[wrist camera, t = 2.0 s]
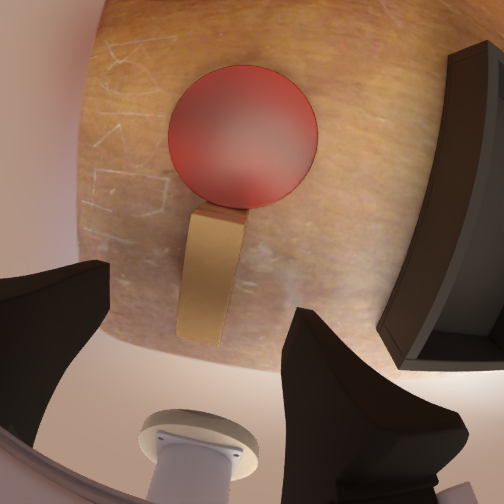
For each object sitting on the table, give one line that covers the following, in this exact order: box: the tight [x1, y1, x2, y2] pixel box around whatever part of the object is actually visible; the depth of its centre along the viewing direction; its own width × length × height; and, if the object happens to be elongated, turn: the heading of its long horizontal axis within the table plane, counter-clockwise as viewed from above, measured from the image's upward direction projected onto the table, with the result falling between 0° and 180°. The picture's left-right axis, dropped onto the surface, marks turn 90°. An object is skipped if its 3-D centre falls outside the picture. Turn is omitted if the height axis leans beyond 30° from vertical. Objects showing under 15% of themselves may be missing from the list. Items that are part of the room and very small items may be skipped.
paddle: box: [168, 65, 318, 346], centre depth 13 cm, size 13×7×3 cm, turn 168°
